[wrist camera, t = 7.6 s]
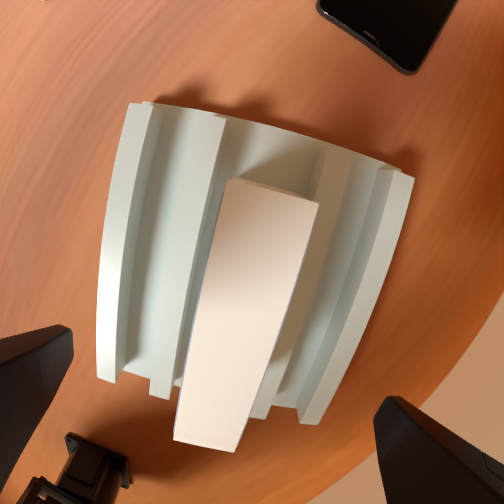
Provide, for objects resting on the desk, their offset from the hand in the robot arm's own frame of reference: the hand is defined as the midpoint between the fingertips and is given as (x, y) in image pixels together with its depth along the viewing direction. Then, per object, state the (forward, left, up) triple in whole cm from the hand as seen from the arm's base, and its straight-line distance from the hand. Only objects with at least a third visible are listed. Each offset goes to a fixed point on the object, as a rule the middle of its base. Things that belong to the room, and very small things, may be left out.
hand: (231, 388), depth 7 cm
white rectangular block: (0, 0, -9) cm, 9 cm away
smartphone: (+22, -6, -11) cm, 25 cm away
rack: (0, 0, -10) cm, 10 cm away
